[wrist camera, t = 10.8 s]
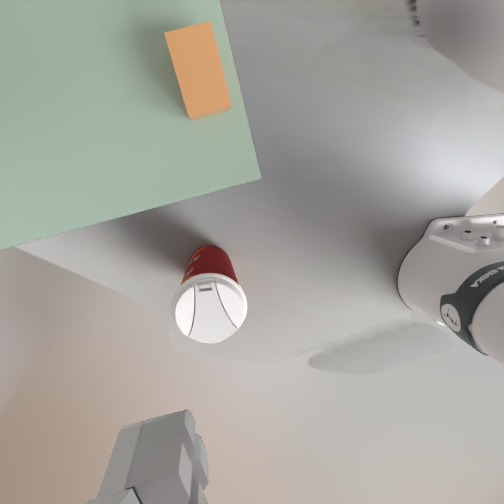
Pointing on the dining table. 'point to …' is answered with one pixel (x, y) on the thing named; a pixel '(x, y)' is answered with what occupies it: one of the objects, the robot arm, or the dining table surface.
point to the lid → (114, 111)
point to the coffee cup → (209, 298)
